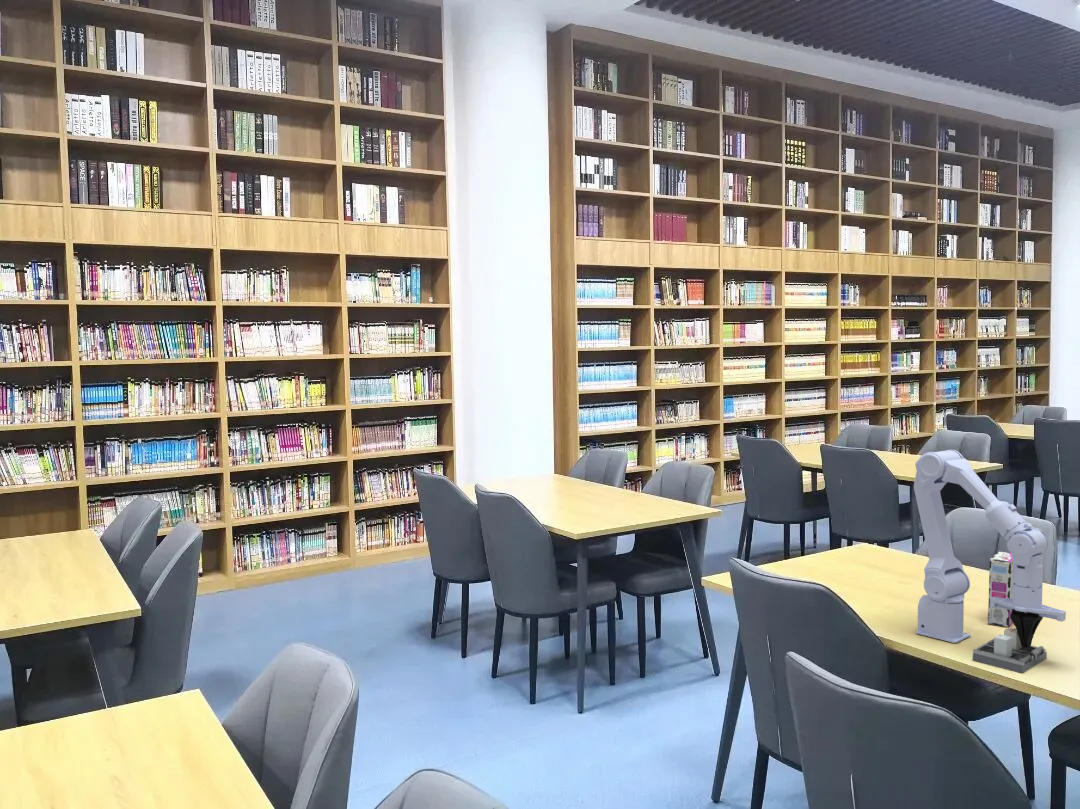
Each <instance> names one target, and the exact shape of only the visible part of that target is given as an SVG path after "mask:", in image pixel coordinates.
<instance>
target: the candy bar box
mask: <svg viewBox="0 0 1080 809" xmlns="http://www.w3.org/2000/svg"><path fill="white" fill-rule="evenodd" d="M1012 562H1013V561H1012V554H1011V553H1010V552H1005V551H998V552H997V553H996V554H994V555H993V556H992V557H991V558H990V559H989V572H988V574H989V578H988V603H987V605H988V609H987V610H988V611H987V613H988V614H987V624H989V625H993V626H998V627H1003V628H1009V627H1010V626H1011V625H1012V623H1013V621H1012V620H1011V618H1010V614H1011V613H1012V610H1008V609H1003V608H999V607H990V598H992V597H999V598H1006V599H1012Z"/></svg>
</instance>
